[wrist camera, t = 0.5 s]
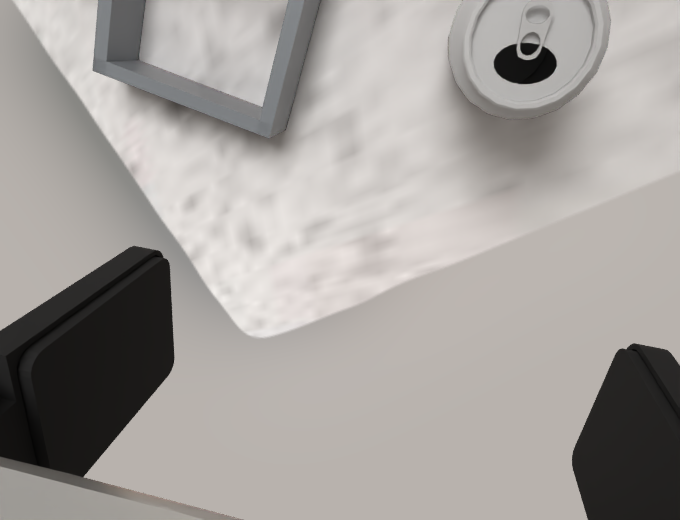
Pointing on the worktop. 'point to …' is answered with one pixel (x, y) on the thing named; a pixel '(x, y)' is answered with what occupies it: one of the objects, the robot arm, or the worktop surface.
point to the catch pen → (123, 65)
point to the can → (526, 52)
